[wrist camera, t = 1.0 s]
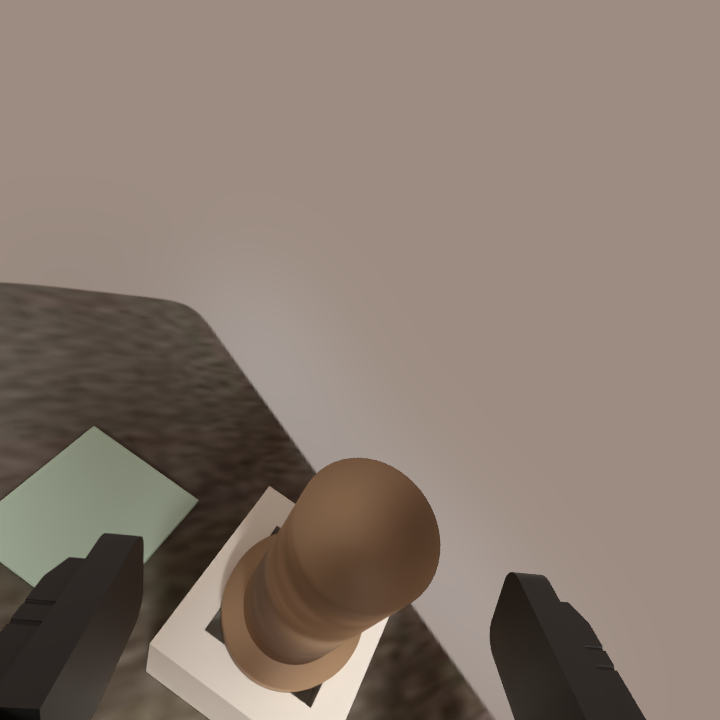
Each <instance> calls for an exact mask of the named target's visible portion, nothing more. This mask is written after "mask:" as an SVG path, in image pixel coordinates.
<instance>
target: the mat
mask: <svg viewBox="0 0 720 720" xmlns="http://www.w3.org/2000/svg"><path fill="white" fill-rule="evenodd" d="M197 503H198V499H196V498H195V497H194V496H192V495H191V494H189V493H188V492H186V491H185V490H184V489H182V488H181V487H179V486H178V485H177V484H175V483H174V482H172V481H171V480H170V479H168V478H167V477H165V476H164V475H162V474H161V473H160V472H158V471H157V470H155V469H154V468H153V467H151V466H150V465H148V464H147V463H146V462H144V461H143V460H141V459H140V458H138V457H137V456H136V455H134V454H133V453H131V452H130V451H129V450H127V449H126V448H124V447H123V446H122V445H120V444H119V443H117V442H116V441H115V440H113V439H112V438H110V437H109V436H107V435H106V434H105V433H103V432H102V431H100V430H99V429H98V428H96V427H95V426H93V427H92V428H91V429H89V430H88V431H87V432H86V433H84V434H83V435H82V436H81V437H79V438H78V439H77V440H76V441H74V442H73V443H72V444H71V445H70V446H68V447H67V448H66V449H65V450H63V451H62V452H61V453H60V454H58V455H57V456H56V457H55V458H53V459H52V460H51V461H50V462H48V463H47V464H46V465H45V466H43V467H42V468H41V469H40V470H38V471H37V472H36V473H35V474H33V475H32V476H31V477H30V478H28V479H27V480H26V481H25V482H24V483H22V484H21V485H20V486H19V487H17V488H16V489H15V490H14V491H12V492H11V493H10V494H9V495H7V496H6V497H5V498H4V499H2V500H1V501H0V562H1V563H2V564H4V565H5V566H6V567H8V568H9V569H10V570H12V571H13V572H14V573H16V574H17V575H18V576H20V577H21V578H22V579H24V580H25V581H26V582H28V583H29V584H30V585H32V586H33V587H34V588H35V586H36V585H37V584H38V582H39V581H40V580H41V578H42V577H43V576H44V575H45V574H46V573H48V572H49V571H51V570H52V569H53V568H55V567H56V566H58V565H59V564H60V563H62V562H63V561H64V560H66V559H67V558H69V557H75V558H86V556H87V555H88V554H89V552H90V551H91V549H92V548H93V546H94V545H95V543H96V542H97V540H98V539H99V538H100V536H101V535H102V534H104V533H112V534H123V535H133V536H142V537H143V540H144V562H143V565H144V564H145V563H146V562H147V560H148V559H149V558H150V557H151V556H152V555H153V554H154V552H155V551H156V550H157V549H158V548H159V547H160V545H161V544H162V543H163V542H164V541H165V540H166V539H167V537H168V536H169V535H170V534H171V533H172V532H173V531H174V529H175V528H176V527H177V526H178V525H179V524H180V523H181V521H182V520H183V519H184V518H185V517H186V516H187V514H188V513H189V512H190V511H191V510H192V509H193V508H194V506H195V505H196V504H197Z"/></svg>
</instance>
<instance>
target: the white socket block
mask: <svg viewBox="0 0 720 720" xmlns="http://www.w3.org/2000/svg"><path fill="white" fill-rule="evenodd" d="M294 506H295V503H293V502H292V501H290V500H289V499H287V498H286V497H285V496H283V495H282V494H280V493H279V492H277V491H276V490H274V489H273V488H272V487H270V486H269V487H268V489H267V490H266V491H265V493H264V494H263V495H262V496H261V498H260V499H259V500H258V502H257V503H256V504H255V506H254V507H253V508H252V510H251V511H250V512H249V514H248V515H247V516H246V518H245V519H244V520H243V521H242V523H241V524H240V525H239V527H238V528H237V529H236V531H235V532H234V533H233V535H232V536H231V537H230V539H229V540H228V541H227V543H226V544H225V545H224V546H223V548H222V549H221V550H220V552H219V553H218V554H217V556H216V557H215V558H214V560H213V561H212V562H211V564H210V565H209V566H208V568H207V569H206V570H205V571H204V573H203V574H202V575H201V577H200V578H199V579H198V581H197V582H196V583H195V585H194V586H193V587H192V589H191V590H190V591H189V593H188V594H187V595H186V597H185V598H184V599H183V600H182V602H181V603H180V604H179V606H178V607H177V608H176V610H175V611H174V612H173V614H172V615H171V616H170V618H169V619H168V620H167V622H166V623H165V624H164V625H163V627H162V628H161V629H160V631H159V632H158V633H157V635H156V636H155V637H154V639H153V640H152V641H151V643H150V645H149V652H148V660H147V668H146V672H147V673H149V674H150V675H151V676H153V677H154V678H155V679H157V680H158V681H159V682H161V683H162V684H163V685H165V686H166V687H167V688H169V689H170V690H171V691H173V692H174V693H175V694H177V695H178V696H179V697H181V698H182V699H183V700H185V701H186V702H187V703H189V704H190V705H191V706H193V707H194V708H195V709H197V710H198V711H199V712H201V713H202V714H203V715H205V716H206V717H207V718H209V719H210V720H346V718H347V715H348V713H349V710H350V708H351V706H352V703H353V701H354V699H355V696H356V694H357V691H358V689H359V687H360V684H361V682H362V680H363V677H364V675H365V673H366V670H367V668H368V665H369V663H370V661H371V658H372V656H373V654H374V651H375V649H376V646H377V644H378V642H379V639H380V637H381V635H382V632H383V630H384V628H385V625H386V623H387V620H388V618H389V617H387V618H385V619H384V620H382V621H380V622H379V623H377V624H375V625H374V626H372V627H370V628H369V629H367V630H365V631H364V632H362V634H361V637H360V640H359V643H358V645H357V647H356V649H355V651H354V653H353V655H352V656H351V658H350V659H349V661H348V662H347V663H346V664H345V666H344V667H343V668H342V669H341V670H340V671H339V672H338V673H336V674H335V675H334V676H333V677H332V678H330V679H328V680H327V681H325V682H323V683H321V684H319V685H317V686H315V687H312V688H310V689H308V690H304V691H299V692H291V693H285V692H276V691H272V690H268V689H266V688H264V687H261V686H259V685H257V684H256V683H254V682H253V681H251V680H250V679H248V678H247V677H246V676H245V675H244V674H243V673H242V672H241V671H240V670H239V669H238V668H237V666H236V665H235V664H234V662H233V660H232V659H231V657H230V655H229V653H228V651H227V649H226V647H225V643H224V640H223V637H222V631H221V624H220V610H221V602H222V597H223V593H224V590H225V587H226V584H227V582H228V580H229V578H230V575H231V573H232V571H233V569H234V568H235V566H236V565H237V563H238V561H239V560H240V559H241V558H242V556H243V555H244V554H245V553H246V552H247V551H248V550H249V549H250V548H251V547H252V546H254V545H255V544H256V543H258V542H259V541H261V540H263V539H265V538H266V537H269V536H271V535H274V534H277V533H278V532H279V530H280V529H281V527H282V525H283V524H284V522H285V520H286V519H287V517H288V515H289V514H290V512H291V510H292V509H293V507H294Z"/></svg>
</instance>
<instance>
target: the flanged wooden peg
mask: <svg viewBox="0 0 720 720" xmlns="http://www.w3.org/2000/svg"><path fill="white" fill-rule="evenodd" d="M439 556H440V535H439V529H438V525H437V521H436V518H435V515H434V513H433V511H432V508H431V506H430V504H429V503H428V501H427V499H426V498H425V496H424V495H423V493H422V492H421V490H420V489H419V488H418V487H417V486H416V485H415V484H414V483H413V482H412V481H411V480H410V479H409V478H408V477H407V476H405V475H404V474H403V473H402V472H400V471H398V470H397V469H395V468H394V467H392V466H390V465H387V464H385V463H383V462H380V461H377V460H372V459H367V458H350V459H344V460H340V461H337V462H334V463H332V464H330V465H328V466H326V467H325V468H323V469H322V470H320V471H319V472H318V473H317V474H316V475H315V476H314V477H313V478H312V479H311V480H310V482H309V483H308V484H307V486H306V487H305V489H304V491H303V492H302V494H301V496H300V497H299V499H298V501H297V502H296V504H295V506H294V507H293V509H292V510H291V512H290V514H289V515H288V517H287V519H286V520H285V522H284V524H283V525H282V527H281V529H280V530H279V532H278V533H277V534H274V535H271V536H269V537H266V538H265V539H263V540H261V541H259V542H258V543H256V544H255V545H254V546H252V547H251V548H250V549H249V550H248V551H247V552H246V553H245V554H244V555H243V556H242V558H241V559H240V560H239V561H238V563H237V565H236V566H235V568H234V569H233V571H232V573H231V575H230V578H229V580H228V582H227V584H226V587H225V590H224V593H223V597H222V602H221V610H220V624H221V631H222V637H223V640H224V643H225V647H226V649H227V651H228V653H229V655H230V657H231V659H232V660H233V662H234V664H235V665H236V666H237V668H238V669H239V670H240V671H241V672H242V673H243V674H244V675H245V676H246V677H247V678H248V679H250V680H251V681H253V682H254V683H256V684H257V685H259V686H261V687H264V688H266V689H268V690H272V691H276V692H285V693H291V692H299V691H304V690H308V689H310V688H312V687H315V686H317V685H319V684H321V683H323V682H325V681H327V680H328V679H330V678H332V677H333V676H334V675H335V674H336V673H338V672H339V671H340V670H341V669H342V668H343V667H344V666H345V664H346V663H347V662H348V661H349V659H350V658H351V656H352V655H353V653H354V651H355V649H356V647H357V645H358V643H359V640H360V637H361V634H362V632H364V631H365V630H367V629H369V628H370V627H372V626H374V625H375V624H377V623H379V622H380V621H382V620H384V619H385V618H387V617H389V616H390V615H392V614H393V613H395V612H397V611H398V610H400V609H402V608H403V607H405V606H407V605H408V604H410V603H412V602H413V601H414V600H416V599H417V598H418V597H419V596H420V595H421V594H422V593H423V592H424V591H425V590H426V589H427V587H428V586H429V584H430V583H431V581H432V579H433V577H434V575H435V572H436V569H437V566H438V562H439Z"/></svg>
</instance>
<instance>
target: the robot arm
mask: <svg viewBox="0 0 720 720" xmlns="http://www.w3.org/2000/svg"><path fill="white" fill-rule="evenodd" d="M143 562H144V540H143V537H142V536H133V535H123V534H112V533H104V534H102V535H101V536H100V538H99V539H98V540H97V542H96V543H95V545H94V546H93V548H92V549H91V551H90V552H89V554H88V555H87V556H86V558H75V557H69V558H67V559H66V560H64V561H63V562H62V563H60V564H59V565H58V566H56V567H55V568H53V569H52V570H51V571H49V572H48V573H46V574H45V575H44V576H43V577H42V578H41V580H40V581H39V582H38V584H37V585H36V586H35V588H34V589H33V590H32V592H31V593H30V594H29V596H28V597H27V598H26V601H25V603H24V604H22V605H21V606H20V607H19V609H18V610H17V611H16V613H15V614H14V615H13V617H12V618H11V621H10V623H9V624H7V625H6V626H5V627H4V629H3V630H2V631H1V632H0V720H91V719H92V717H93V715H94V713H95V711H96V709H97V706H98V704H99V702H100V700H101V698H102V695H103V693H104V691H105V689H106V687H107V685H108V682H109V680H110V678H111V676H112V674H113V672H114V669H115V667H116V665H117V663H118V661H119V659H120V656H121V654H122V652H123V650H124V648H125V645H126V643H127V641H128V639H129V637H130V635H131V632H132V630H133V628H134V626H135V623H136V621H137V618H138V615H139V611H140V607H141V602H142V596H143ZM490 645H491V651H492V655H493V658H494V661H495V664H496V666H497V669H498V672H499V675H500V678H501V681H502V684H503V687H504V690H505V693H506V696H507V698H508V701H509V704H510V707H511V710H512V713H513V716H514V719H515V720H646V719H645V717H644V716H643V714H642V712H641V710H640V709H639V707H638V706H637V704H636V702H635V700H634V699H633V697H632V695H631V693H630V692H629V690H628V688H627V687H626V685H625V684H624V682H623V680H622V678H621V677H620V675H619V673H618V672H617V671H615V670H614V665H613V663H612V661H611V660H610V658H609V656H608V655H607V653H606V651H603V649H602V645H601V643H600V641H599V640H598V638H597V636H596V634H595V633H594V631H593V629H592V628H591V626H590V624H589V623H588V622H587V621H586V620H585V619H584V618H583V617H582V616H581V615H580V614H579V613H578V612H577V611H576V610H575V609H574V608H573V607H572V606H571V605H570V604H569V603H568V602H560V600H559V599H558V597H557V595H556V593H555V591H554V589H553V588H552V586H551V584H550V582H549V581H548V580H547V578H546V577H545V576H543V575H536V574H525V573H514V572H510V573H509V574H508V575H507V576H506V578H505V581H504V584H503V587H502V590H501V593H500V596H499V600H498V603H497V606H496V609H495V612H494V615H493V618H492V621H491V626H490Z"/></svg>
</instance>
